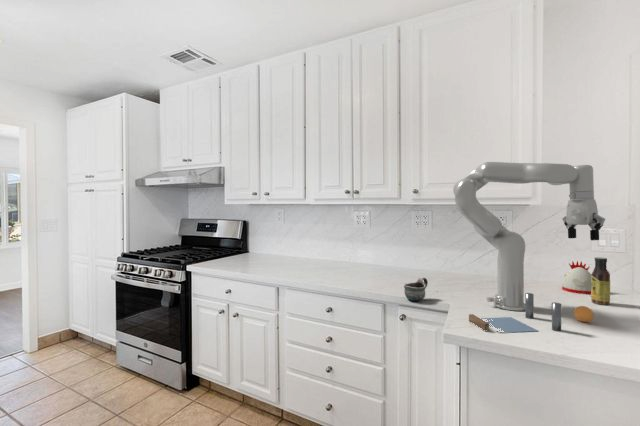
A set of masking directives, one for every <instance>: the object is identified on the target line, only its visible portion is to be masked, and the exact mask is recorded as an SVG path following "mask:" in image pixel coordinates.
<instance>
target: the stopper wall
mask: <svg viewBox="0 0 640 426" xmlns="http://www.w3.org/2000/svg"><path fill="white" fill-rule="evenodd" d="M480 318H481V317H478V316H476V315H475V314H473V313H472V314H471V313H469V314H468V322H469V321H471V322H472V324H473V323H474V324H475V325H474V324H473V325H474V326H476V325H477V326H478V328H479V327H480V328H482V329H483V330H482V329H481V330H482V331H484V330H489V331H490V327H489V323H487V322H485V321H483V320H482V319H480ZM471 322H470V323H471ZM477 326H476V327H477ZM480 328H479V329H480Z"/></svg>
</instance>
